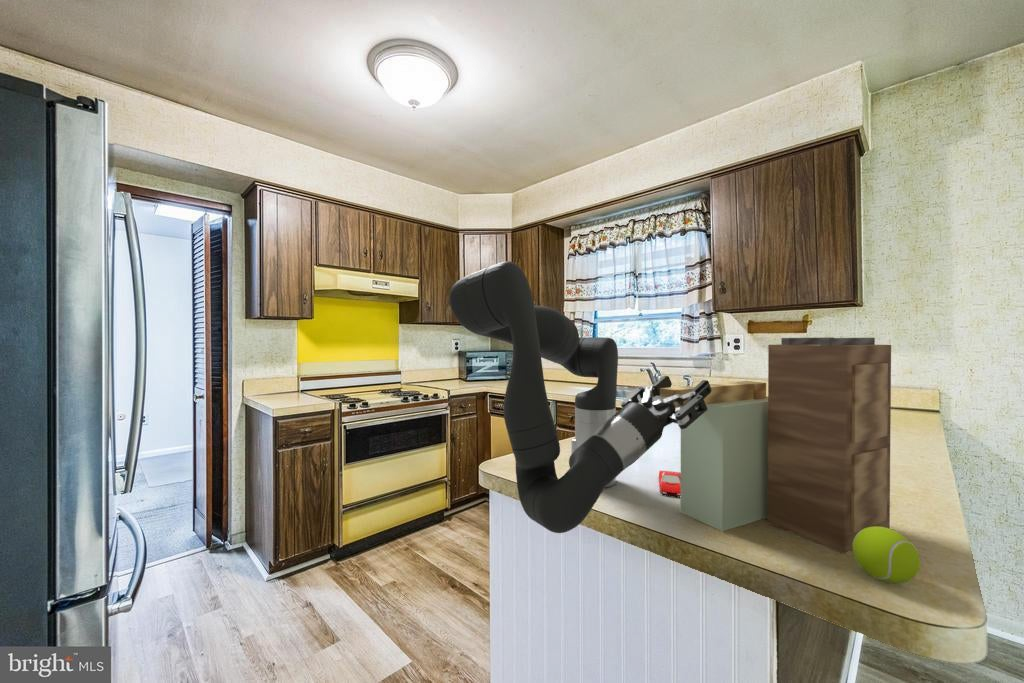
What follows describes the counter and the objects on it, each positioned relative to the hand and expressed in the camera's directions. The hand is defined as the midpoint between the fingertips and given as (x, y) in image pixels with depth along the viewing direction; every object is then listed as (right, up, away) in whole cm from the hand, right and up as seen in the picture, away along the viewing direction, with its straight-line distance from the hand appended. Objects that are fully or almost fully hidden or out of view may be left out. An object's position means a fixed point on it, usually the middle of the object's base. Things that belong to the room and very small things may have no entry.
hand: (687, 382), depth 76 cm
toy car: (+4, -26, +19) cm, 33 cm away
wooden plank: (+6, -4, +3) cm, 8 cm away
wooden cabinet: (+24, -25, -1) cm, 35 cm away
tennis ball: (+21, -26, -17) cm, 37 cm away
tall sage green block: (+10, -25, +5) cm, 28 cm away
